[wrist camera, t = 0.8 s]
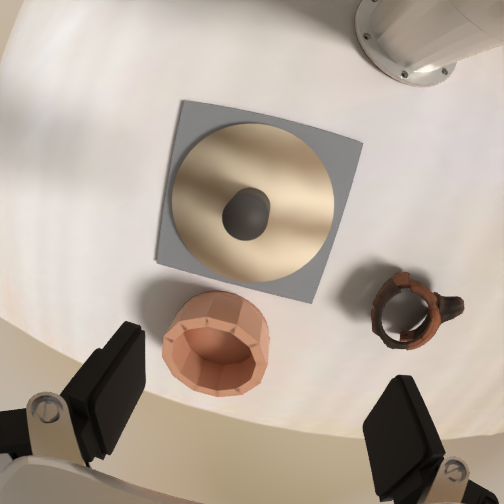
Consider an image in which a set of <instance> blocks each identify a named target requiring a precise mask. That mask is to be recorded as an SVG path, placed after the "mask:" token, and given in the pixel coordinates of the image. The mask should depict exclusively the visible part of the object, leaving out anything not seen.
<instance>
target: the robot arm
mask: <svg viewBox="0 0 504 504" xmlns="http://www.w3.org/2000/svg"><path fill="white" fill-rule="evenodd" d="M355 30H356V34H357V38H358V40H359V42H360V44H361V47H362V48H363V50H364V51H365V53H366V54H367V56H368V57H369V58H370V59H371V60H372V62H373V63H374V64H375V65H376V66H377V67H378V68H380V69H381V70H382V71H383V72H384V73H386V74H387V75H389V76H390V77H392V78H393V79H395V80H398V81H400V82H402V83H404V84H408V85H411V86H418V87H427V86H433V85H436V84H439V83H441V82H443V81H445V80H446V79H447V78H449V77H450V75H451V74H452V72H453V71H454V69H455V66H456V63H457V61H459V60H461V59H464V58H467V57H470V56H472V55H475V54H478V53H481V52H484V51H487V50H490V49H493V48H496V47H499V46H502V45H504V0H362V2H361V3H360V5H359V7H358V9H357V11H356V15H355ZM364 37H366V38H367V40H366V39H364ZM401 74H403V77H402V75H401ZM145 384H146V373H145V331H143V330H141V326H140V325H137V324H134V323H131V322H128V321H125V322H124V323H123V324H122V325H121V326H120V328H119V329H118V330H117V331H116V333H115V334H114V335H113V336H112V338H111V339H110V340H109V341H108V343H107V344H106V345H105V346H104V348H103V349H100V348H98V349H96V350H95V351H94V352H93V353H92V354H91V355H90V357H89V358H88V359H87V360H86V362H85V363H84V364H83V365H82V367H81V368H80V369H79V371H78V372H77V373H76V374H75V376H74V377H73V378H72V379H71V381H70V382H69V383H68V385H67V386H66V387H65V388H64V390H63V391H62V393H61V394H60V395H58V394H55V393H52V392H41V393H37V394H36V395H34V396H33V397H31V399H29V401H28V403H27V407H26V408H23V409H17V410H9V411H0V504H203V503H198V502H193V501H189V500H185V499H181V498H177V497H174V496H170V495H167V494H163V493H160V492H156V491H153V490H150V489H147V488H143V487H140V486H137V485H134V484H131V483H128V482H126V481H123V480H120V479H118V478H115V477H112V476H110V475H107V474H104V473H101V472H99V471H96V470H93V469H92V468H91V465H90V462H92V461H93V459H94V457H97V458H99V459H102V460H104V458H105V455H106V454H108V455H111V454H112V452H113V450H114V448H115V446H116V444H117V442H118V440H119V438H120V436H121V433H122V431H123V430H124V428H125V426H126V424H127V422H128V420H129V418H130V415H131V414H132V412H133V410H134V408H135V406H136V404H137V402H138V400H139V398H140V396H141V394H142V392H143V390H144V388H145ZM363 433H364V437H365V441H366V446H367V451H368V456H369V461H370V466H371V470H372V476H373V481H374V486H375V492H376V494H377V495H378V496H379V498H380V502H385V501H392V500H394V504H499V502H498V499H497V497H496V496H495V494H493V493H492V492H490V491H488V490H487V489H485V488H483V487H481V486H480V485H478V484H476V483H474V482H473V481H471V480H469V468H468V466H467V464H466V463H465V462H464V461H463V460H462V459H460V458H458V457H455V456H450V457H447V458H446V459H444V457H443V455H444V454H445V453H446V452H445V450H444V448H443V445H442V443H441V440H440V438H439V435H438V433H437V430H436V428H435V426H434V423H433V421H432V419H431V416H430V414H429V412H428V410H427V407H426V405H425V403H424V401H423V398H422V396H421V394H420V392H419V390H418V388H417V386H416V383H415V381H414V379H413V377H412V376H410V375H397V376H396V377H395V378H393V379H391V381H390V382H389V384H388V386H387V387H386V389H385V391H384V392H383V394H382V395H381V397H380V398H379V400H378V401H377V403H376V405H375V406H374V408H373V409H372V410H371V412H370V413H369V415H368V416H367V418H366V419H365V421H364V423H363Z"/></svg>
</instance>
